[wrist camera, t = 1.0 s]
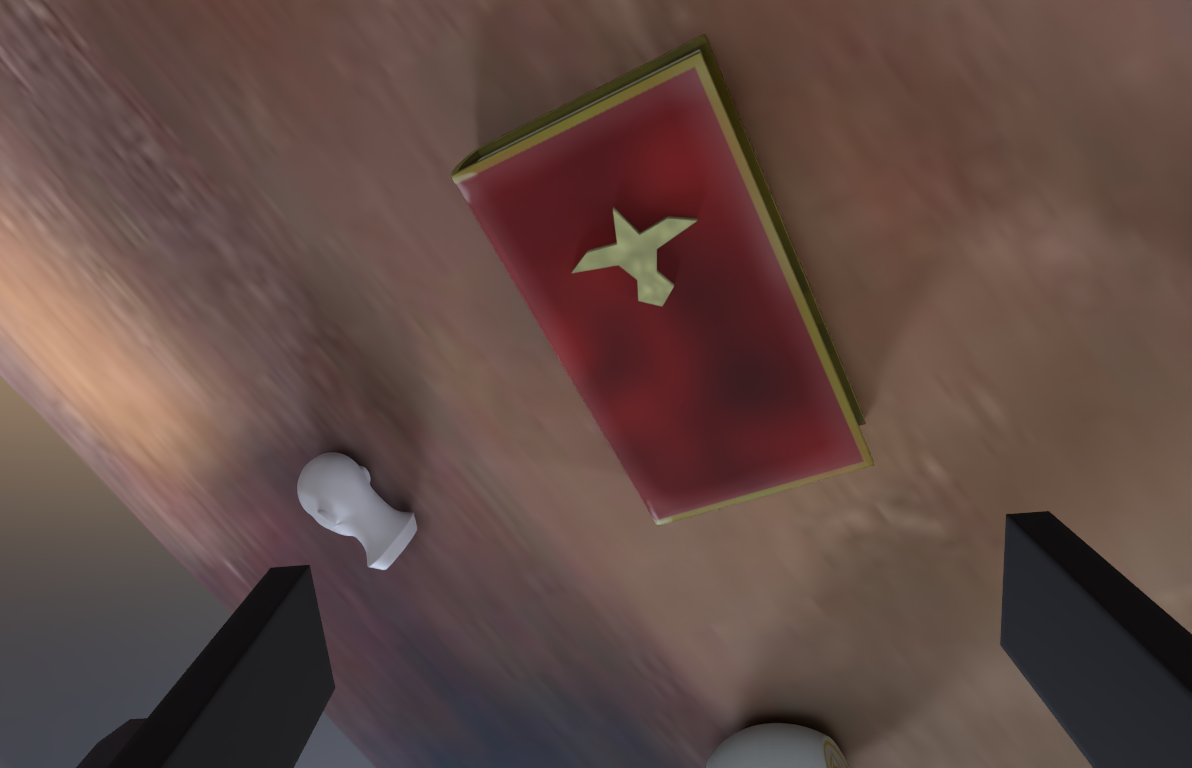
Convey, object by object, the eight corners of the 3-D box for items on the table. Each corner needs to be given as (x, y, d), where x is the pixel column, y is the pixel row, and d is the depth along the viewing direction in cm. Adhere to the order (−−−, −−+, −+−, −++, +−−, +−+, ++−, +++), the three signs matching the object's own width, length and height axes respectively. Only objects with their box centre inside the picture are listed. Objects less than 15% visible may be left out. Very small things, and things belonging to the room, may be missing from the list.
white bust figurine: (309, 446, 52) (352, 429, 49) (392, 534, 55) (438, 524, 52) (263, 494, 49) (305, 480, 46) (352, 585, 52) (399, 577, 49)
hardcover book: (657, 481, 48) (650, 531, 45) (469, 152, 39) (441, 181, 36) (864, 419, 44) (875, 468, 40) (704, 33, 35) (700, 54, 32)
